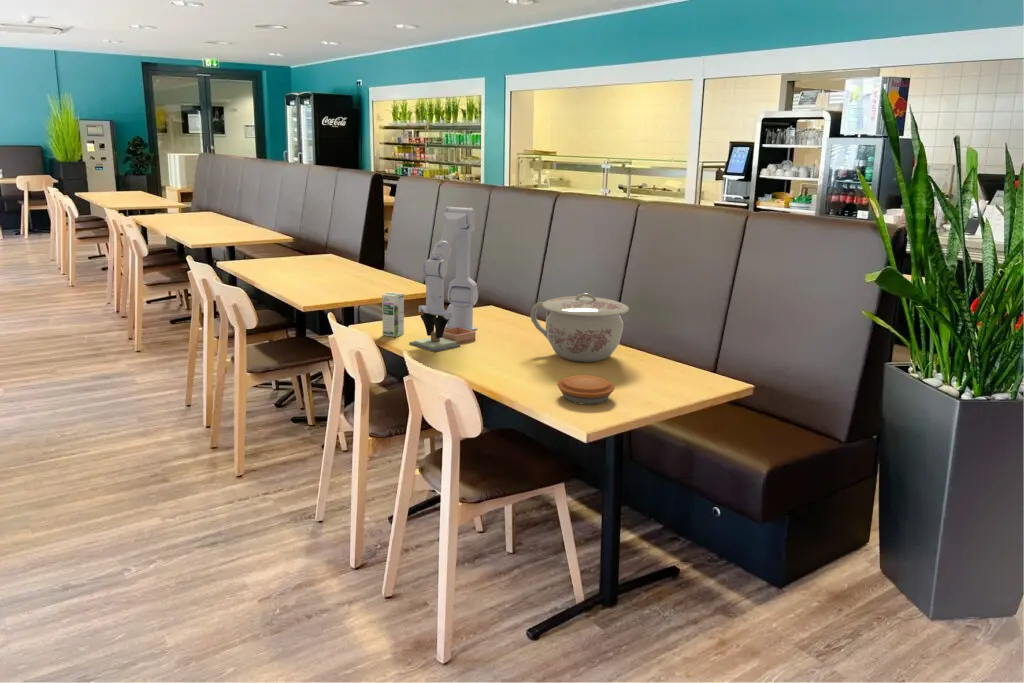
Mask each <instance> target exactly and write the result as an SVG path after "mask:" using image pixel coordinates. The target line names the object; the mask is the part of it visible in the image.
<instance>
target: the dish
mask: <svg viewBox="0 0 1024 683" xmlns="http://www.w3.org/2000/svg"><path fill="white" fill-rule="evenodd" d="M442 338H445V339H448V340H452V341H455V342H456V344H459V345H461V344H465V343H468V342H470V343H471V342H473V341H476V331H475V330H468V329H464V328H460V327H455V328H449V329H448V328H445V329H444V333H443V337H442Z"/></svg>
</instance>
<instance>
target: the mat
mask: <svg viewBox="0 0 1024 683" xmlns="http://www.w3.org/2000/svg"><path fill="white" fill-rule="evenodd" d="M415 341H416V340H414V341H409V342H408V344H409V345H411V346H414V347H417V348H419V349H423V350H427V351H430V352H433V353H438V352H441V351H442V352H443V351H447V350H451V349H455V348H459V347H461V344H454V345H449V346H445V347H440V348H435V349H432V348H429V347H426V346H423V345H420V344H416V343H415Z"/></svg>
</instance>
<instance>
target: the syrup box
mask: <svg viewBox="0 0 1024 683" xmlns="http://www.w3.org/2000/svg"><path fill="white" fill-rule="evenodd" d="M404 295H405V294H404V293H400V292H399V293H398V292H390V291H389V292H385V293H383V294H382V297H381V298H382V299H381V301H382V302H381V308H382V309H381V310H382V336H383V335H385V336H384V337H386V336H387V337H391V338H392V337H393V338H398V337H400V336H402V335H403V334H405V312H404V311H405V308H404V307H405V303H404V302H405V301H404V300H405V296H404Z"/></svg>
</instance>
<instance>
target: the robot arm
mask: <svg viewBox="0 0 1024 683" xmlns="http://www.w3.org/2000/svg"><path fill="white" fill-rule="evenodd" d="M476 215H477V214H476V212H475V210H474V208H473V207H457V206H456V207H455V206H446V207H445V208H444V211H443V216H442V219H443V225H444V227H443V230H442V233H441V237H440V240H437V241H436V242H435V243H434V247H433V249H432V251H431V254H430V256H429V258H428V259H427V260H425V261H424V263H423V267H422V273H423V277H424V282H425V284H426V285H425V287H426V288H425V305H418V313H423V314H420V318H421V320H422V322H423V325H424V327H425V332H426V335H427V336H429V337H431V332H433V331H435V332H436V338H437V339H438V338H442V337H443V333H444V329H449V328H455V327H460V328H464V329H468V330H471V331H475V330H478V328H479V327H476V326H474V324H473V323H474V321H473V320H474V319H473V318H474V306H475V305H476V304H477V302H478V300H479V291H478V284H477V282H476V281H474V280H473V279H472V278H471V276H470V275H471V244H472V242H471V240H472V232H474V231H475V230H476V220H477V219H476ZM455 237H456V253H455V254H456V258H455V261H456V262H455V264H456V265H455V278H453V279H452V280H451V281H450V282H449V284H448V291H447V300H448V302H449V303H450V304H449V305H448V306H447V308H445V306H444V304H445V296H444V295H445V286H444V284H445V281H444V280H445V278H446V275H447V274H448V265H449V263H448V261H449V258H450V256H451V253H452V250H453V247H452V245H451V244H452V242H453V241H454V238H455Z"/></svg>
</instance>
